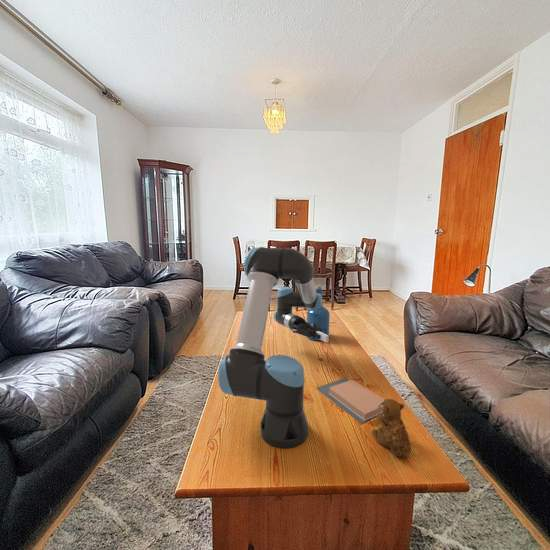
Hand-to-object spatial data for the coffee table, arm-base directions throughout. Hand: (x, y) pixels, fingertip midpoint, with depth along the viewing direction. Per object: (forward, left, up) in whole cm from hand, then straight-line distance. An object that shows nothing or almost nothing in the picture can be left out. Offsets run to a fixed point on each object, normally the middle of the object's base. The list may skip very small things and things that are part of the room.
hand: (327, 339), depth 120 cm
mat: (-8, -13, -18) cm, 24 cm away
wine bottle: (+42, +20, -18) cm, 50 cm away
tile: (-5, -8, -16) cm, 19 cm away
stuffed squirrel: (-26, -30, -18) cm, 44 cm away
